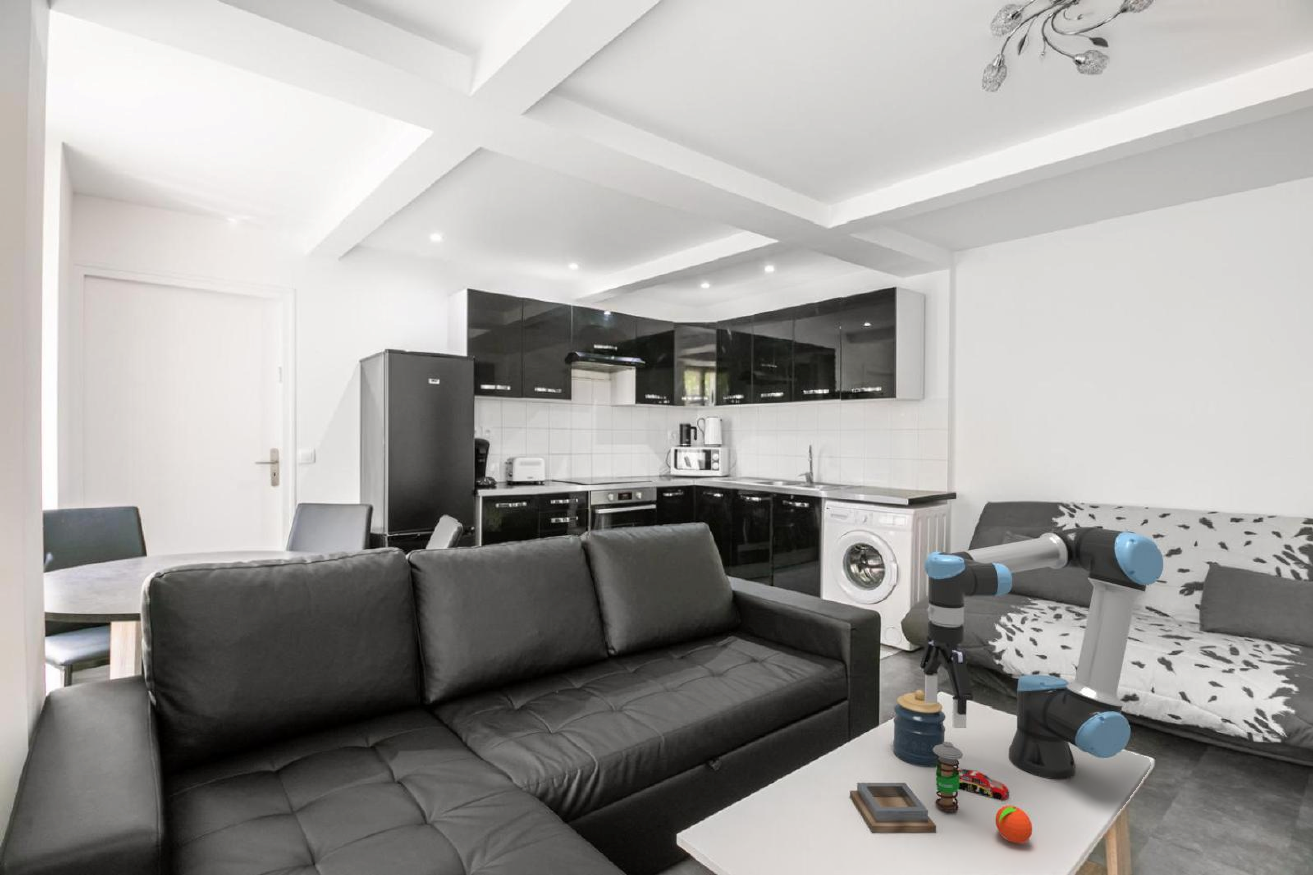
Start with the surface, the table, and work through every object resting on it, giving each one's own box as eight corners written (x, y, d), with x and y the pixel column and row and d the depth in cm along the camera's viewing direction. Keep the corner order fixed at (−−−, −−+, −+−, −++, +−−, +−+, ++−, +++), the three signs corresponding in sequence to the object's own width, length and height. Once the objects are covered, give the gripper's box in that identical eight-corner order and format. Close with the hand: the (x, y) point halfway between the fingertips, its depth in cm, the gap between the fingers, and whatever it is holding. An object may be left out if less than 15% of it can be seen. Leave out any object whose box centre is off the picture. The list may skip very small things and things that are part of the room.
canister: (948, 752, 175) (949, 688, 175) (940, 773, 164) (941, 704, 164) (898, 740, 182) (899, 678, 182) (888, 758, 171) (889, 692, 171)
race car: (1009, 794, 155) (1010, 777, 155) (1008, 804, 150) (1008, 787, 150) (950, 777, 162) (951, 762, 162) (947, 787, 157) (948, 771, 157)
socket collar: (904, 793, 151) (905, 782, 151) (927, 822, 139) (928, 810, 139) (857, 793, 150) (857, 782, 150) (876, 822, 139) (876, 811, 139)
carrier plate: (907, 796, 152) (907, 790, 152) (936, 832, 138) (936, 825, 138) (849, 796, 152) (850, 790, 152) (872, 833, 138) (872, 826, 138)
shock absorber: (928, 809, 147) (929, 744, 147) (936, 797, 152) (937, 734, 152) (957, 820, 143) (958, 753, 143) (965, 808, 148) (966, 743, 148)
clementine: (1013, 855, 131) (1014, 820, 131) (984, 836, 138) (984, 802, 138) (1039, 846, 134) (1040, 812, 134) (1009, 827, 141) (1010, 795, 141)
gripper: (906, 608, 161) (905, 692, 161) (956, 639, 136) (955, 739, 136) (936, 608, 161) (935, 693, 161) (991, 639, 136) (990, 739, 136)
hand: (944, 714), depth 148 cm, fingers open, 13 cm apart
